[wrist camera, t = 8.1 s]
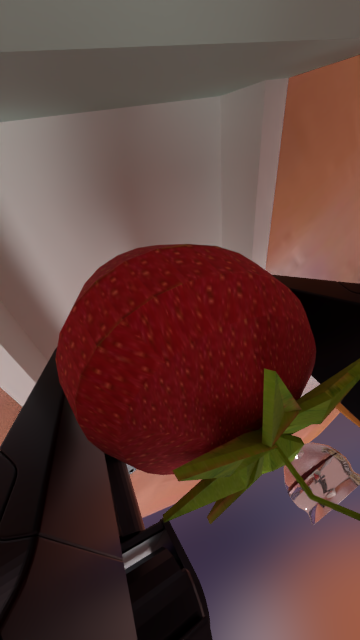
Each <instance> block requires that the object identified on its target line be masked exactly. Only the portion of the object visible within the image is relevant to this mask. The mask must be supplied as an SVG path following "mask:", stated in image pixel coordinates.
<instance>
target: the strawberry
mask: <svg viewBox="0 0 360 640" xmlns="http://www.w3.org/2000/svg"><path fill="white" fill-rule="evenodd" d="M315 358H316V346H315V340H314V337H313V333H312V330H311V327H310V324H309V321H308V318H307V315H306V312H305V310H304V308H303V306H302V304H301V302H300V300H299V299H298V298H297V297H296V295H295V294H294V293H293V292H292V291H291V290H290V289H289V288H288V287H287V286H285V285H284V284H283V283H281V282H280V281H279V280H278V279H276V278H275V277H274V276H272V275H271V274H270V273H268V272H267V271H266V270H264V269H263V268H262V267H260V266H259V265H258V264H256V263H255V262H253V261H251V260H250V259H248V258H247V257H245V256H243V255H242V254H240V253H238V252H234V251H231V250H228V249H225V248H221V247H218V246H211V245H196V244H169V245H154V246H147V247H140V248H136V249H133V250H130V251H128V252H125V253H122V254H120V255H117V256H116V257H114V258H113V259H111V260H110V261H108V262H107V263H105V264H104V265H102V266H101V267H99V268H98V269H97V270H96V271H95V273H94V274H93V275H92V276H91V277H90V278H89V279H88V280H87V281H86V282H85V284H84V286H83V288H82V290H81V292H80V294H79V296H78V297H77V299H76V301H75V303H74V305H73V307H72V309H71V311H70V313H69V315H68V317H67V319H66V321H65V323H64V325H63V327H62V329H61V331H60V333H59V340H58V346H57V352H56V359H55V360H56V365H57V371H58V376H59V382H60V384H61V387H62V389H63V391H64V393H65V395H66V398H67V400H68V402H69V404H70V406H71V409H72V411H73V413H74V415H75V418H76V420H77V422H78V424H79V426H80V427H81V429H82V431H83V433H84V434H85V436H86V438H87V439H88V441H89V442H91V443H92V444H93V445H94V446H96V447H97V448H98V449H100V450H101V451H102V452H104V453H106V454H108V455H110V456H112V457H114V458H116V459H118V460H120V461H122V462H124V463H126V464H128V465H130V466H132V467H134V468H136V469H139V470H141V471H144V472H147V473H151V474H160V475H168V474H175V476H176V478H177V479H178V481H187V480H199V479H202V480H201V481H200V482H199V483H198V484H197V485H196V486H195V487H193V488H192V489H191V490H190V491H189V492H188V493H187V494H186V495H185V496H183V497H182V498H181V499H180V500H179V501H178V502H177V503H176V504H175V505H173V507H171V508H170V509H169V510H168V511H167V512H166V513H165V514H163V519H164V523H165V522H167V521H170V520H172V519H174V518H177V517H179V516H181V515H184V514H186V513H189V512H191V511H193V510H196V509H198V508H200V507H203V506H205V505H207V504H210V503H212V502H215V501H216V503H215V505H214V506H213V508H212V510H211V511H210V513H209V515H208V516H207V518H208V520H209V523H210V524H211V523H212V522H213V521H214V520H215V519H216V518H217V517H219V516H220V515H221V514H222V513H223V512H224V511H225V510H226V509H227V508H228V507H229V506H230V505H231V504H232V503H233V502H234V501H235V500H236V499H237V498H238V497H239V496H240V495H241V494H242V493H243V492H244V491H245V490H246V489H248V488H249V487H250V486H251V485H252V484H253V483H254V482H255V481H256V480H257V479H258V478H259V477H260V476H261V475H262V474H264V473H267V472H271V471H274V470H276V469H278V468H280V467H282V466H284V465H286V466H287V468H288V469H289V470H290V472H291V473H292V475H293V476H294V477H295V479H296V480H297V482H298V483H299V484H300V486H301V487H302V489H303V490H304V492H305V493H306V494H307V496H308V497H309V499H311V500H313V501H316V502H318V503H320V504H322V505H325V506H327V507H329V508H332V509H334V510H336V511H339V512H341V513H343V514H346V515H348V516H350V517H352V518H355V519H357V520H359V521H360V514H359V513H356V512H354V511H352V510H349V509H347V508H344V507H342V506H340V505H337V504H335V503H332V502H330V501H328V500H325V499H323V498H320V497H318V496H316V495H314V494H313V493H312V491H311V490H310V488H309V487H308V486H307V484H306V483H305V482H304V480H303V479H302V477H301V476H300V475H299V473H298V472H297V471H296V469H295V468H294V466H293V465H292V464H291V462H292V461H293V460H294V459H295V457H296V456H297V454H298V453H299V452H300V450H301V449H302V447H303V446H304V443H303V441H302V440H301V438H299V437H296V436H292V435H291V434H293V433H295V432H297V431H299V430H301V429H303V428H305V427H307V426H309V425H311V424H321V423H322V422H323V421H324V419H325V418H326V417H327V416H328V415H329V414H330V413H331V411H332V410H333V409H334V408H335V407H336V406H337V405H338V403H339V402H340V401H341V400H342V399H343V398H344V397H345V396H346V394H347V393H348V392H349V391H350V390H351V389H352V388H353V386H354V385H355V384H356V383H357V382H358V381H359V380H360V358H359V359H358V360H356V361H355V362H353V363H352V364H350V365H349V366H347V367H346V368H344V369H343V370H341V371H340V372H338V373H337V374H335V375H334V376H332V377H331V378H329V379H328V380H326V381H325V382H323V383H322V384H320V385H319V386H317V387H316V388H314V389H313V390H311V391H310V392H308V393H307V394H305V395H304V396H302V397H301V395H302V393H303V390H304V388H305V386H306V384H307V382H308V380H309V378H310V376H311V374H312V370H313V367H314V364H315ZM300 397H301V398H300Z"/></svg>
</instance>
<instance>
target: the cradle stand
mask: <svg viewBox="0 0 360 640" xmlns="http://www.w3.org/2000/svg"><path fill="white" fill-rule="evenodd" d="M357 55H360V0H0V387H1V388H2V389H3V390H4V391H5V392H6V393H8V394H9V395H10V396H11V397H12V398H13V399H14V400H15V401H16V402H17V403H19V404H20V405H21V406H22V407H23V405H24V404H25V402H26V400H27V398H28V396H29V395H30V393H31V391H32V389H33V388H34V386H35V384H36V382H37V380H38V379H39V377H40V375H41V373H42V372H43V370H44V368H45V366H46V364H47V363H48V361H49V359H50V357H51V356H52V354H53V352H54V350H55V349H56V347H57V346H58V340H59V333H60V331H61V329H62V327H63V325H64V323H65V321H66V319H67V317H68V315H69V313H70V311H71V309H72V307H73V305H74V303H75V301H76V299H77V297H78V296H79V294H80V292H81V290H82V288H83V286H84V284H85V282H86V281H87V280H88V279H89V278H90V277H91V276H92V275H93V274H94V273H95V271H96V270H97V269H98V268H99V267H101V266H102V265H104V264H105V263H107V262H108V261H110V260H111V259H113V258H114V257H116V256H117V255H120V254H122V253H125V252H128V251H130V250H133V249H136V248H140V247H147V246H154V245H169V244H196V245H211V246H218V247H221V248H225V249H228V250H231V251H234V252H238V253H240V254H242V255H243V256H245V257H247V258H248V259H250V260H251V261H253V262H255V263H256V264H258V265H259V266H260V267H262V268H263V269H264V270H265V267H266V259H267V251H268V243H269V234H270V226H271V218H272V210H273V202H274V194H275V186H276V177H277V169H278V161H279V153H280V145H281V137H282V128H283V120H284V112H285V104H286V96H287V88H288V79H289V78H290V77H293V76H296V75H299V74H302V73H305V72H308V71H311V70H314V69H317V68H320V67H323V66H326V65H329V64H332V63H336V62H339V61H342V60H345V59H348V58H351V57H354V56H357Z"/></svg>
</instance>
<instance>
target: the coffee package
mask: <svg viewBox="0 0 360 640" xmlns="http://www.w3.org/2000/svg"><path fill="white" fill-rule="evenodd" d="M335 408H336V409H338V410H339V411H340V412H341V413H342V414H343V415H344V416H346V417H347V418H348V419H350V420H351V421H352V422H353V423H355V424H356V425H358V426H359V427H360V421H359V420H358V419H357V418H356V417H355V416H353V415H352V414H351V413H350V412H349V411H348V410H347V409H346V408H345V407H344V406H343V405H342V404H341V403H340V402H339V403H338V405H337V406H336V407H335Z"/></svg>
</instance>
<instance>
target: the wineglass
mask: <svg viewBox="0 0 360 640" xmlns="http://www.w3.org/2000/svg"><path fill="white" fill-rule="evenodd" d="M291 464H292V465H293V466H294V468H295V469H296V471H297V472H298V473H299V475H300V476H301V477H302V479H303V480H304V482H305V483H306V484H307V486H308V487H309V488H310V490H311V491H312V493H313V494H314V495H316V496H318V497H320V498H323V499H325V500H328V501H330V502H332V503H335V504H339V503H340V502H341V501H342V500H343V499H344V498H345V497H346V496H347V495H348V494H350V493H351V492H352V491H353V490H354V489H355V488H356V487H357V486H358V485H360V475H359V474H357V473H355V472H354V471H353V470H352V467H351V465H350V463H349V461H348V460H347V459H346V457H345V456H343V455H342V454H341V453H340V452H338V451H337V450H336V449H334V448H332V447H330V446H328V445H323V444H318V443H307V444H304V446H303V447H302V449H301V450H300V452H299V453H298V454H297V456H296V457H295V459H294V460H293V461H292V462H291ZM284 480H285V486H286V488H287V491H288V494H289V496H291V498H292V500H293V501H294V503H295V504H296V505H297V506H298V507H300V508H301V509H303V510H305V511H306V512H307V513H308V514H309V517H310V519H311V522H312V525H314V524H315V523H316V522H317V521H319V520H320V519H321V518H322V517H324V516H325V515H326V514H327V513H328V512H329V511H330V510H332V508H329V507H327V506H325V505H322V504H320V503H318V502H316V501H313V500H311V499H309V497H308V496H307V494H306V493H305V492H304V490H303V489H302V487H301V486H300V484H299V483H298V482H297V480H296V479H295V477H294V476H293V475H292V473H291V472H290V470H289V469H288V468H287V466H286V465H285V466H284Z"/></svg>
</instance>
